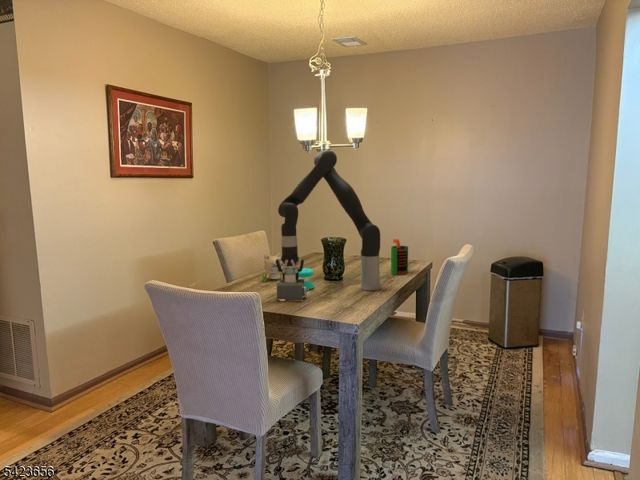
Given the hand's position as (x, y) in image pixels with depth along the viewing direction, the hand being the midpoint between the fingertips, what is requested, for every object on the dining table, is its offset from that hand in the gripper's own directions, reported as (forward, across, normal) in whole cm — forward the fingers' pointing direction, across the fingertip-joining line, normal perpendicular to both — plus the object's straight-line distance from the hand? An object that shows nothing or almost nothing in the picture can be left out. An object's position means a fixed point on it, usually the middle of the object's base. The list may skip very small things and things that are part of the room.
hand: (290, 280), depth 221 cm
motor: (+9, -55, -53) cm, 77 cm away
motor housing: (+9, 0, 0) cm, 9 cm away
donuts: (+9, -4, -19) cm, 21 cm away
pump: (+1, 0, 0) cm, 1 cm away
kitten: (+9, +16, -39) cm, 43 cm away
